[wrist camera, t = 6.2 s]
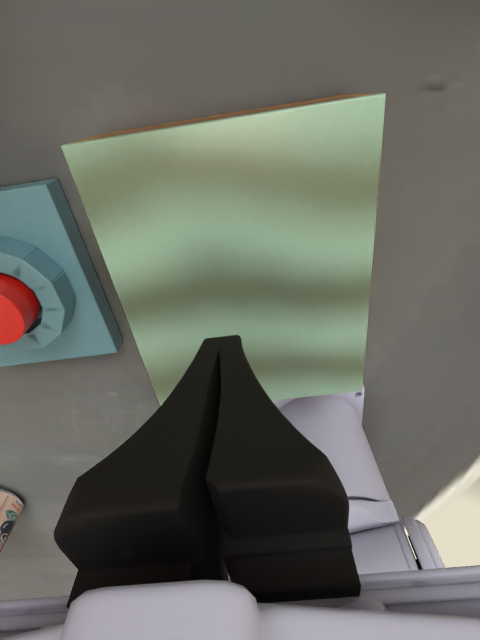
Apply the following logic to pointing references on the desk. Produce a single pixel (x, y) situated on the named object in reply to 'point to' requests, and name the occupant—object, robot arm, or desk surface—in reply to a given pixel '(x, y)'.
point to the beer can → (8, 514)
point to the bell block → (52, 277)
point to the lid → (243, 239)
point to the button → (16, 309)
